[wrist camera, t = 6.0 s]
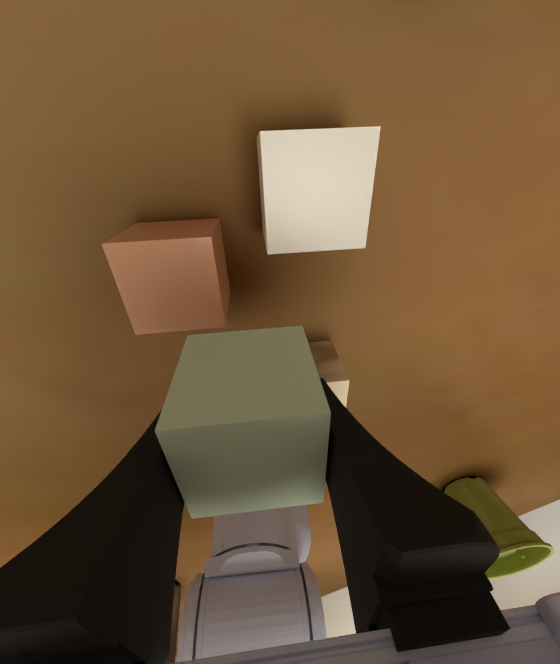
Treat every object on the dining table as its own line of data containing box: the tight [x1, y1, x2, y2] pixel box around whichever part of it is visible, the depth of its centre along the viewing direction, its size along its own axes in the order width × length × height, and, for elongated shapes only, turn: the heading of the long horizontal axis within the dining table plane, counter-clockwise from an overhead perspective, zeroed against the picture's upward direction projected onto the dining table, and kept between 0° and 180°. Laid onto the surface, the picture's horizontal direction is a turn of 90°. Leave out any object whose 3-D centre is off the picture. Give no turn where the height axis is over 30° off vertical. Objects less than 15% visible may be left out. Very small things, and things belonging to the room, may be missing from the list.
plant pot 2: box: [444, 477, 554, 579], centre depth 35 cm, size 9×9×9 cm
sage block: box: [155, 326, 331, 519], centre depth 11 cm, size 5×5×5 cm
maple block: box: [308, 340, 349, 407], centre depth 22 cm, size 5×5×5 cm
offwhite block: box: [256, 126, 381, 254], centre depth 15 cm, size 5×5×5 cm
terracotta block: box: [102, 218, 230, 335], centre depth 16 cm, size 5×5×5 cm
